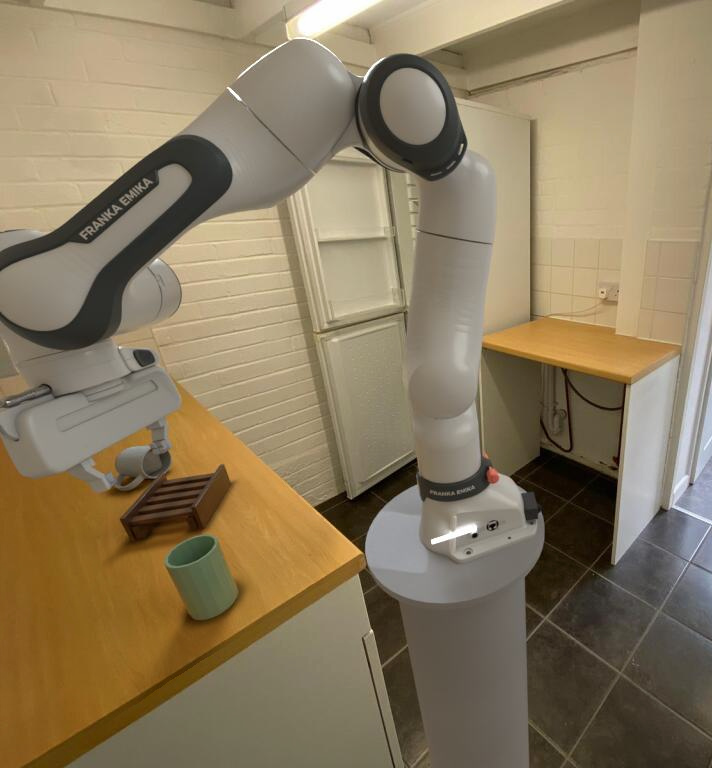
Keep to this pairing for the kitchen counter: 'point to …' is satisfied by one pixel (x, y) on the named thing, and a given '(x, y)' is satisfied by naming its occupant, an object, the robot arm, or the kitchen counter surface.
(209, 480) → the rack
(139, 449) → the ceramic mug
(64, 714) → the kitchen counter surface
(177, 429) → the kitchen counter surface
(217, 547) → the tumbler
